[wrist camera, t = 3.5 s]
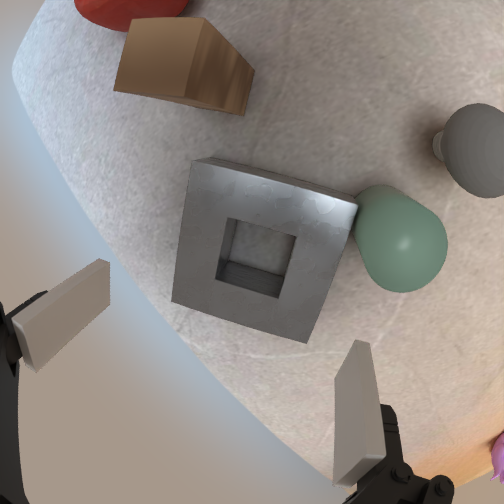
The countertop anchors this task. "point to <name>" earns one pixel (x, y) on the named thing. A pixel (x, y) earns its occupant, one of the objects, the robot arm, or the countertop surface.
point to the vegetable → (127, 11)
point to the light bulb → (474, 149)
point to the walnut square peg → (184, 65)
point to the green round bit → (398, 239)
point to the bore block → (269, 216)
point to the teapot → (498, 458)
